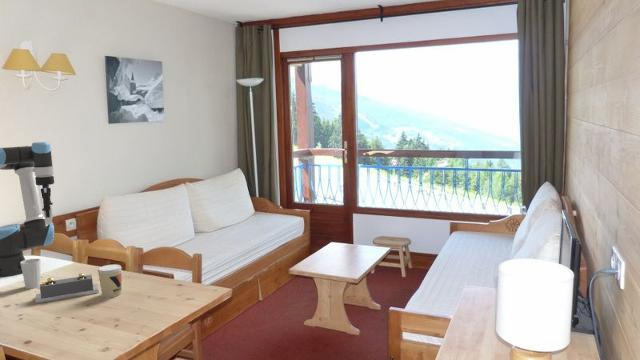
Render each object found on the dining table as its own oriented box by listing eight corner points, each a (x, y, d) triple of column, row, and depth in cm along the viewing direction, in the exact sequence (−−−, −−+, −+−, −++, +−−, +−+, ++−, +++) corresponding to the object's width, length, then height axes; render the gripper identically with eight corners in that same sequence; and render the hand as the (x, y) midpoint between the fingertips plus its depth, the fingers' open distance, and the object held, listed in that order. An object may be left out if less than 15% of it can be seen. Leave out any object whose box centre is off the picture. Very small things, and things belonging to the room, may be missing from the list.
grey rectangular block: (41, 298, 212) (39, 285, 212) (41, 294, 218) (40, 281, 217) (93, 289, 221) (92, 277, 220) (92, 285, 227) (91, 273, 226)
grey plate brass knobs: (35, 303, 211) (33, 283, 210) (36, 297, 218) (34, 278, 217) (98, 292, 221) (96, 274, 220) (97, 287, 229) (95, 269, 227)
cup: (47, 283, 236) (44, 258, 235) (35, 289, 228) (33, 263, 227) (30, 283, 237) (28, 258, 235) (19, 289, 229) (16, 263, 227)
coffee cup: (115, 298, 213) (112, 271, 212) (95, 297, 215) (92, 270, 214) (128, 291, 222) (125, 264, 221) (108, 290, 224) (106, 263, 223)
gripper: (36, 174, 241) (40, 217, 244) (33, 179, 219) (38, 227, 222) (53, 172, 244) (58, 216, 247) (53, 178, 222) (58, 225, 225)
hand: (49, 221), depth 234 cm, fingers open, 13 cm apart
